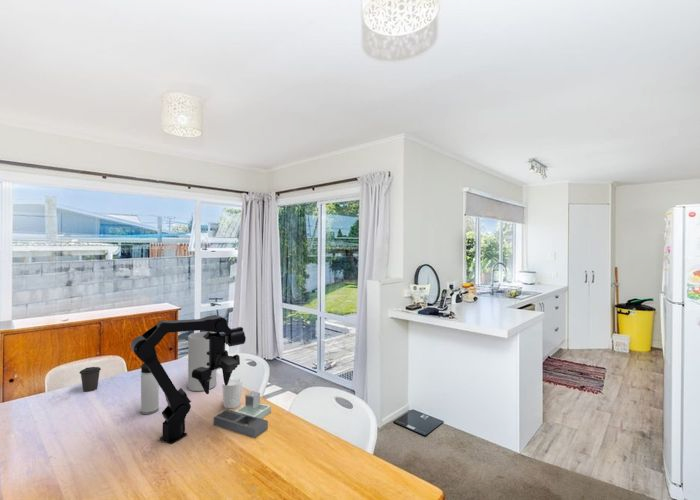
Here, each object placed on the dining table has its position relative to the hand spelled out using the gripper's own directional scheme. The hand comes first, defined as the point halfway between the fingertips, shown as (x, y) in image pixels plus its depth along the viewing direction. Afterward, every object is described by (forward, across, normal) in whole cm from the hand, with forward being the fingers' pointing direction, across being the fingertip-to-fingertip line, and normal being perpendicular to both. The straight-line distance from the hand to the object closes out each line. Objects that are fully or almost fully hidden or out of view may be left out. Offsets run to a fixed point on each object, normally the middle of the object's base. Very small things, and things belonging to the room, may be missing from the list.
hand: (217, 389), depth 132 cm
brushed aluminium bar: (+12, +11, -8) cm, 18 cm away
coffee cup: (+13, -4, +77) cm, 78 cm away
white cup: (+13, +14, +6) cm, 20 cm away
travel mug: (+13, -5, +32) cm, 35 cm away
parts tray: (+13, +11, -8) cm, 19 cm away
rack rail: (+13, +2, -10) cm, 17 cm away
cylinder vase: (+13, +22, +33) cm, 42 cm away
